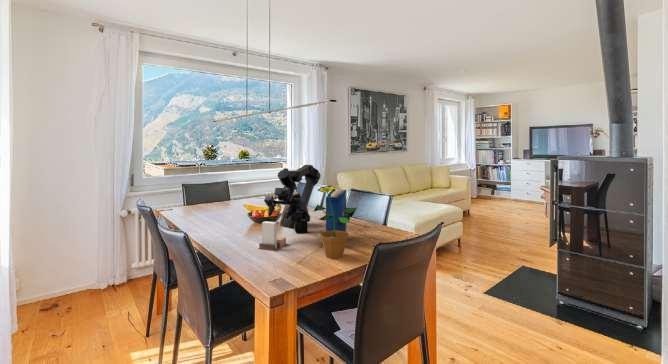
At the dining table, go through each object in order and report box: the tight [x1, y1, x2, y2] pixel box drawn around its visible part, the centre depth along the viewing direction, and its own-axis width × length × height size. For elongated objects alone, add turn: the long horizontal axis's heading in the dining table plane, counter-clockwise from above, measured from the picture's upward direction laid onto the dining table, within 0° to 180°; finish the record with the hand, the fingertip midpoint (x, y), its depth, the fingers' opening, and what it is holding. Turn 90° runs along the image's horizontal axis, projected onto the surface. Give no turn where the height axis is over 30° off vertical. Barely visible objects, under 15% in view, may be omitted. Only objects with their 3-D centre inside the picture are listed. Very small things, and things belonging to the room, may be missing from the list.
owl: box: [279, 191, 302, 230], centre depth 203 cm, size 13×13×20 cm
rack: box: [257, 242, 288, 252], centre depth 161 cm, size 12×9×3 cm
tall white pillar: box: [261, 220, 278, 249], centre depth 158 cm, size 2×6×12 cm, turn 70°
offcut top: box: [277, 236, 287, 243], centre depth 164 cm, size 5×8×2 cm, turn 70°
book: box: [325, 188, 347, 232], centre depth 172 cm, size 22×7×25 cm, turn 168°
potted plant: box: [313, 185, 358, 260], centre depth 148 cm, size 18×19×30 cm
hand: (277, 217), depth 164 cm, fingers open, 9 cm apart
